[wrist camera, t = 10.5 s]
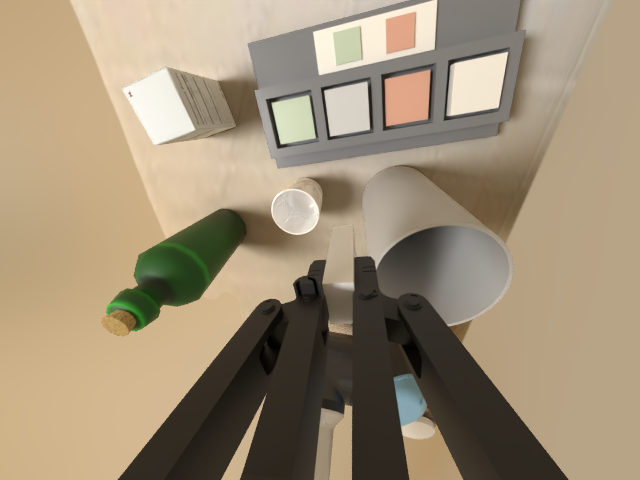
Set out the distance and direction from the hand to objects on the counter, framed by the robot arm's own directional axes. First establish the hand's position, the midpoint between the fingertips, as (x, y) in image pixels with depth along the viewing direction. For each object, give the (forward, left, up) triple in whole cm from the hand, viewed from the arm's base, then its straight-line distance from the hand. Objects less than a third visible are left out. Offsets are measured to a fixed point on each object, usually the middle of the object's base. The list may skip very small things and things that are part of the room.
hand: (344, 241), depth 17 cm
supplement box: (+13, +23, -29) cm, 39 cm away
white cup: (-4, +9, -29) cm, 30 cm away
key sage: (+9, +8, -26) cm, 29 cm away
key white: (+9, -18, -25) cm, 32 cm away
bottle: (-9, +28, -29) cm, 41 cm away
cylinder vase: (-7, -8, -29) cm, 31 cm away
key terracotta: (+9, -9, -26) cm, 29 cm away
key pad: (+11, -5, -28) cm, 31 cm away
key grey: (+9, -1, -25) cm, 26 cm away
